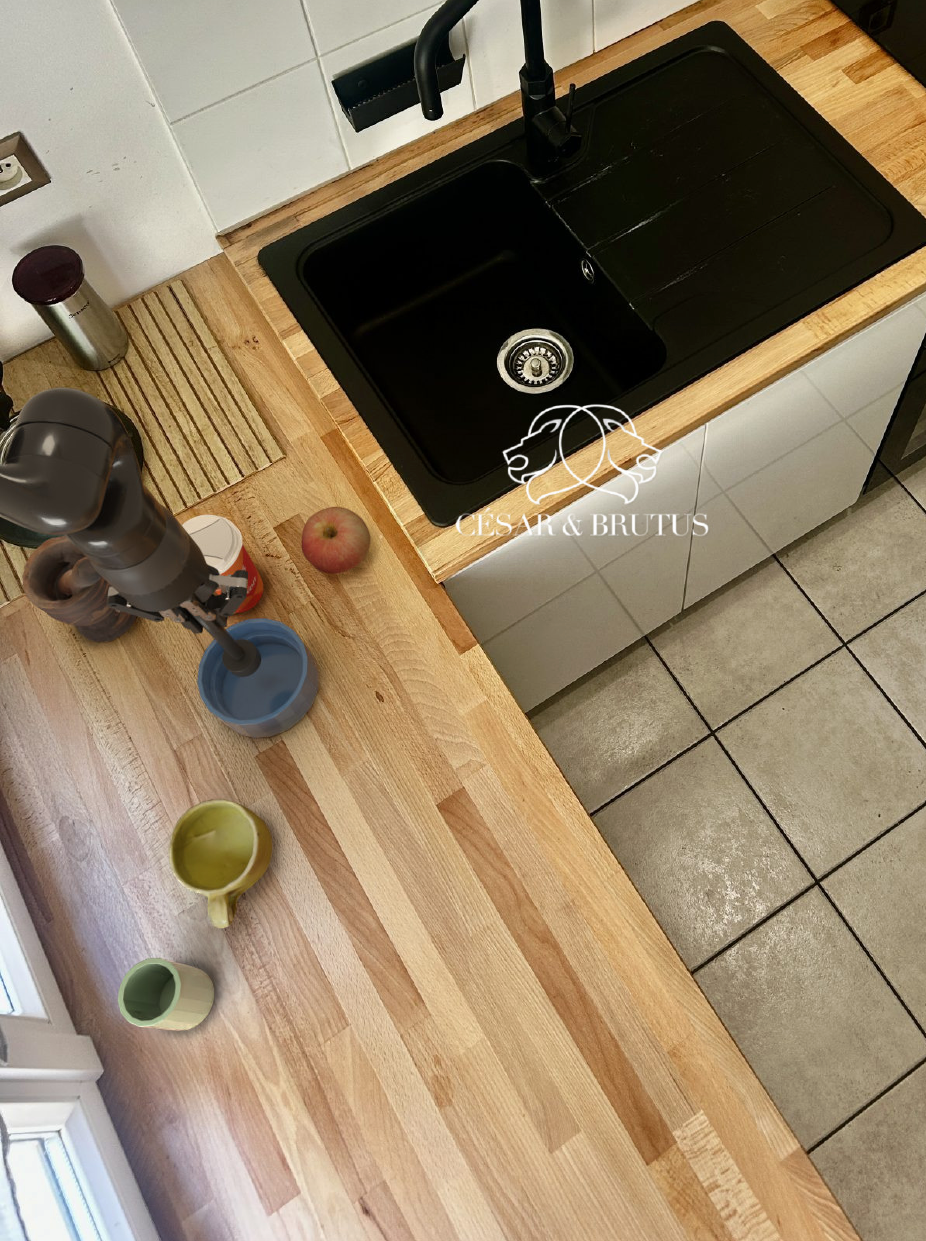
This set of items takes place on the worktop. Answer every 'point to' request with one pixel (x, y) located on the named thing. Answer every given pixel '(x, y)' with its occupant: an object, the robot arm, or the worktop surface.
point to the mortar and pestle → (72, 591)
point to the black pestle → (235, 651)
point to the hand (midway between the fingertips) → (209, 623)
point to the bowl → (260, 681)
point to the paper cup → (225, 552)
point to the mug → (220, 854)
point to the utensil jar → (165, 995)
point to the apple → (335, 540)
